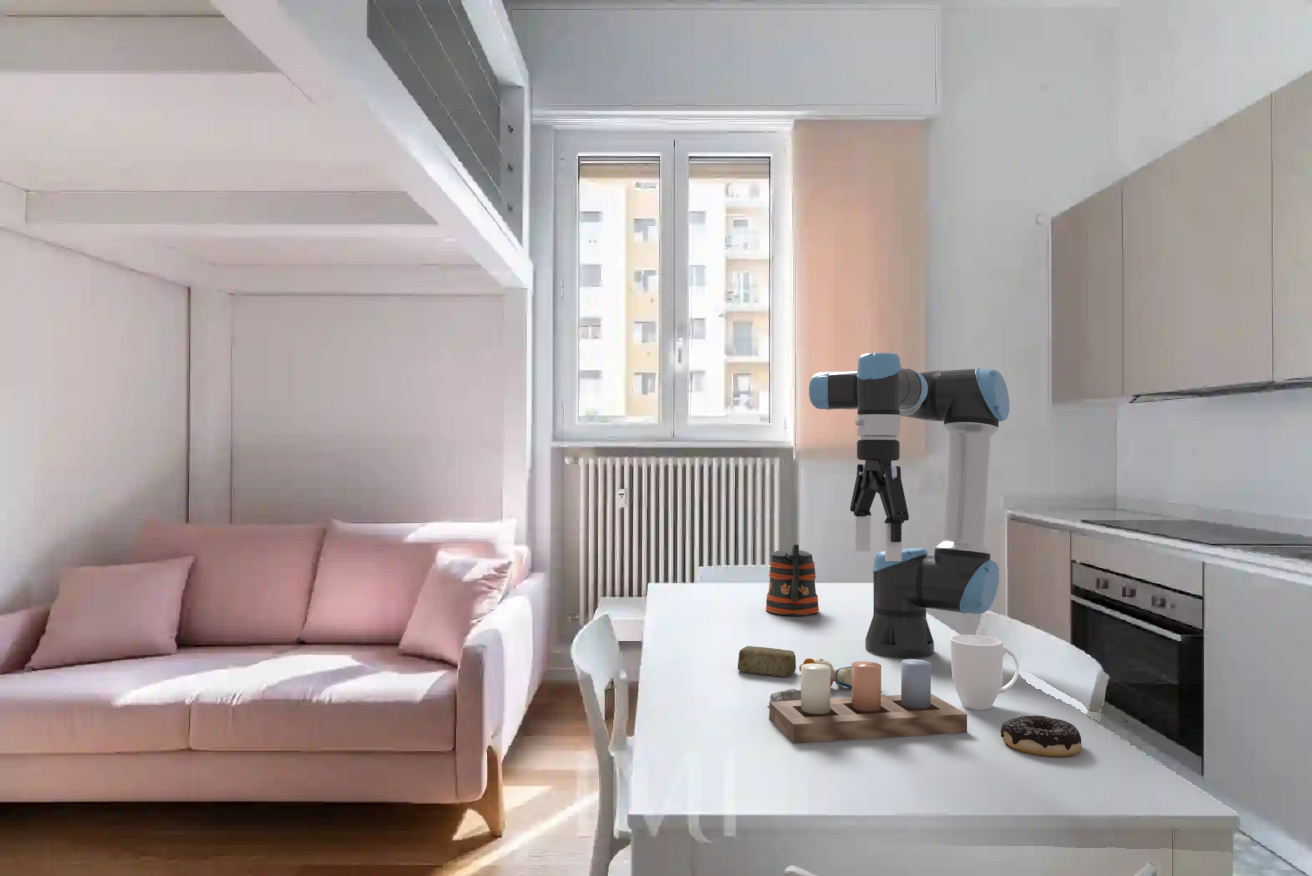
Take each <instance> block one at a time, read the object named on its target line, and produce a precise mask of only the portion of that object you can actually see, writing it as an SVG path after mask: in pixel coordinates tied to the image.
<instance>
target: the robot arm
mask: <svg viewBox="0 0 1312 876" xmlns="http://www.w3.org/2000/svg"><path fill="white" fill-rule="evenodd" d="M808 395H809V396H808V397H809V399H810V403H811V405H812V406H813V407H814V408H815V409H818V410H827V411H830V410H856V411H857V420H855V422H854V423H855V425H856V426H857V427H856V429H857V431H856V432H857V434H856V435H857V437H860V439H858V440H857V442H856V458H857V460H858V461H864V464H863V463H862V464H861V463H860V464H859V463H858V464H857V466H856V477H855V482H854V487H853V492H852V497H851V502H850V508H849V510H850V512H852V513H853V515H854V517H855V520H854V521H855V524H854V549H855V550H854V551H855V552H871V516H872V512H871V508H872V506H873V502H874V499H875V497H876V495H877V494H879V497H880V500H881V504H882V507H883V510H884V513H885V516H886V518H885V520H884V522H883V523H884V524H885V526H884V527H885V529H884V532H885V534H884V538H885V539H884V540H885V542H884V543H885V544H884V546H885V547H884V549H885V550H882V551H879V552H877V553H876V554H875V556H874V557H873V558H874V559H873V569H872V574H873V577H872V579H873V582H872V583H873V612H872V613H873V615H872V619H871V621H870V624H869V627H868V630H867V633H866V637H865V640H864V641H865V644H864V645H865V650H866V651H867V652H870V653H872V654H874V655H879V656H884V657H890V658H902V659H916V658H917V659H918V658H919V659H920V658H925V657H926V658H927V657H929V656H932V655H934V654H935V642H934V639H933V638H934V637H933V636H932V632H931V629H930V626H929V623H928V619H927V609H930V610H931V609H932V610H939V611H947V612H955V613H961V614H965V615H966V614H971V615H972V614H975V615H980V614H984V613H986V612H987V611H988V610H989V609H990V608H991V606H993V603H994V601H995V599H996V596H997V593H998V588H999V583H1000V582H999V581H1000V574H999V572H1000V569H999V564H998V563H997V562H995V561H993V560H991V551H990V550H989V549H988V548H987V547H986V546H985V544H984V543H985V529H986V516H987V515H986V513H987V512H986V511H987V498H988V485H989V483H988V482H989V480H988V479H989V469H990V468H989V467H990V466H989V464H990V451H991V439H992V436H993V435H995V434H996V433H997V432H999V426H1000V425H999V423H1000V422H1005V421H1006V420H1007V419H1008V417H1009V413H1010V397H1009V391H1008V387H1007V384H1006V381H1005V379H1004V376H1003V375H1002V374H1001V373H1000V371H998V370H997V369H994V368H979V367H976V368H966V369H952V370H951V369H950V370H932V371H931V370H930V371H929V370H928V371H924V372H918V371H915V370H914V369H911V368H902V365H901V358H900V356H899V354H897V353H894V352H871V353H870V352H869V353H864V354H861V355H860V356H859V358H858V361H857V370H843V371H842V370H840V371H830V370H829V371H828V370H827V371H824V372H823V371H822V372H817V373H815V374H813V376H812V377H811V378H810V380H809V385H808ZM901 417H906V418H912V419H915V420H916V419H918V420H923V421H931V422H943V428H944V430H945V431H946V432H947V433H948V434H949V444H948V459H947V473H946V488H945V498H944V499H945V501H944V502H945V503H944V515H943V517H944V518H943V529H942V530H943V531H942V540H941V542H939V543H938V544H937V545H936V546H935V547H934V555H928V552H927V549H926V548H924V547H908V548H907V547H906V548H903V544H902V543H903V524H904V523H905V521H909V519H910V516H909V509H908V505H907V500H906V496H905V492H904V491H905V490H904V487H903V482H902V472H901V471H902V470H901V466H900V465H892V461H899V459H900V457H901V456H900V453H901V452H900V447H901V445H900V441H899V440H897V439H898V438H899V437H900V436H901Z"/></svg>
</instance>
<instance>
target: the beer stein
mask: <svg viewBox="0 0 1312 876" xmlns="http://www.w3.org/2000/svg"><path fill="white" fill-rule="evenodd" d="M791 547H792V548H791V549H790V548H786V549H781V550H780V549H779V550H775V551H773V552H770V554H769V556H770V557H772V558H771V560H770V564H769V565H770V566H769V574H768V577H769V582H768V591H767V594H766V599H765V602H766V603H765V611H766V612H767V613H768V612H769V613H772V614H775V615H781V616H796V617H797V616H804V617H805V616H810V615H815V614H817V613H819V611H820V608H819V597H818V596H819V595H818V594H817V591H816V582H815V581H816V578H817V576H816V574H817V573H816V568H815V562H814V560H813V554H811V553H810V552H809V551H805V550H801V549H800V547H799V544H798V543H797V544H796V543H794V544H793V545H792V546H791Z"/></svg>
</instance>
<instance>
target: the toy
mask: <svg viewBox="0 0 1312 876" xmlns="http://www.w3.org/2000/svg"><path fill="white" fill-rule="evenodd" d="M804 664H823V665H827V666H829V667H830V688H831V687H832V686H833V684H834V682H835V683H836V684H837V685H840V686H843V687H845V688H848V689H851V690H852V665H850V666H845V667H841V668H837V669H834V666H833V664H832V663H831V662H830V661H827V660H825V659H822V658H820V659H814V658H810V657H809V658H805V659H804V660H803V662H802V664H800V666H799V667H798V668H799V672H801V666H802V665H804ZM799 678H800V679H801V675H800V676H799Z"/></svg>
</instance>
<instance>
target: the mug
mask: <svg viewBox="0 0 1312 876" xmlns="http://www.w3.org/2000/svg"><path fill="white" fill-rule="evenodd" d="M949 640H950V662H951V663H950V664H951V677H952V681H953V684H954V685H953V686H954V687H955V690H956V692H957V695H958V698H959V700H960V703H961V705H962V706H963V708H964V707H965V708H966V709H971V710H977V711H984V710H985V711H987V710H990V709H992V707H993V706H994V703H995V700H996V699H997V697H998V695H999V694H1002V693H1005V692H1007V691H1009V690H1010V689H1011V688H1012V687H1013V686H1014V685H1015V684H1016V682H1017V680H1018V677H1019V673H1020V669H1019V662H1018V660H1017V657H1016V655H1015V654H1014V653H1013V652H1012V651H1010V650H1009V649H1008V648H1007V647H1005V646H1003V642H1002V641H1001V640H1000V639H999V638H995V637H991V636H986V635H979V634H958V635H952V636H950V638H949ZM1005 654H1008V655H1009V656H1011V657H1012V659H1013V660H1014V663H1015V671H1014V672H1015V673H1014V675H1013V677H1012V679H1011V680H1009V682H1007V684H1005V685H1004V686H1003V679H1004V678H1003V675H1004V673H1003V671H1004V667H1003V666H1004V662H1003V661H1004V655H1005Z"/></svg>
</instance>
